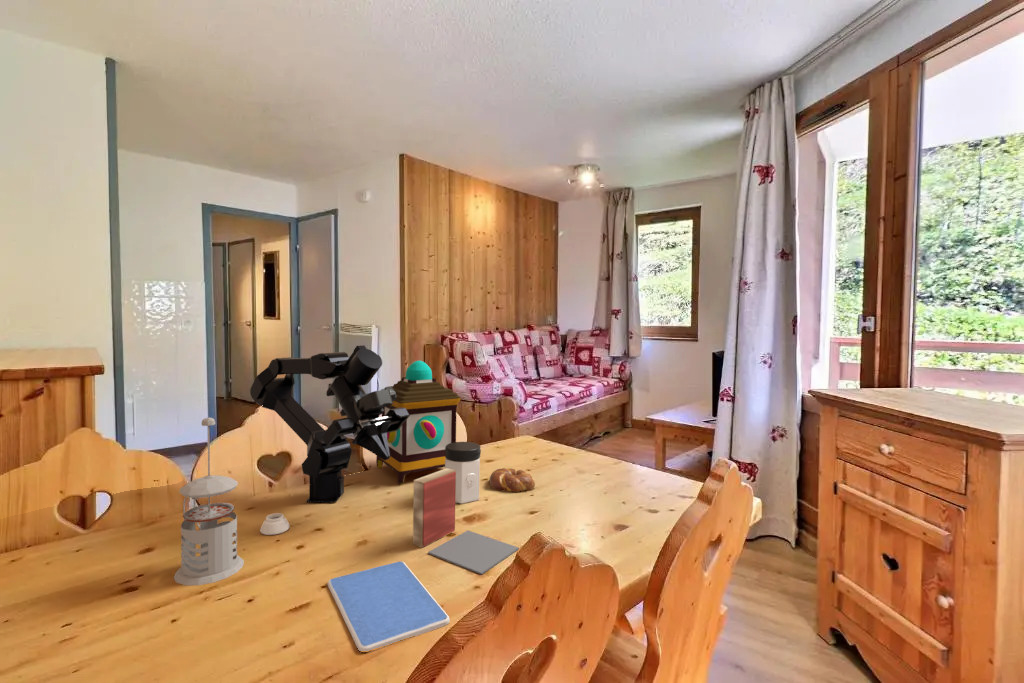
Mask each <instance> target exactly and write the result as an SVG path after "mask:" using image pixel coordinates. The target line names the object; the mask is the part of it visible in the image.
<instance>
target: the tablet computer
mask: <svg viewBox="0 0 1024 683" xmlns="http://www.w3.org/2000/svg"><path fill="white" fill-rule="evenodd" d="M327 587H328V589H329V591H330V594H331V595H332V598H333V599H334V602H335V603H336V605H337V607H338V610H339V612H340V614H341V616H342V619H343V620H344V622H345V625H346V627H347V629H348V631H349V633H350V636H351V638H352V640H353V642H354V644H355V647H356V648H358V649H357V650H359V651H369V650H372V649H375V648H379V647H381V646H382V647H383V646H386V645H389V644H392V643H394V642H397V641H400V640H403V639H405V638H409V637H412V636H415V637H417V636H420V635H423V634H426V633H429V632H432V631H434V630H437V629H440V628H442V627H445V626H447V625H448V624H449V623H450V620H451V619H450V616H449V615H448V614H447V613H446V611H445V610H444V609H443V608H442V606H441V605H440V604H439V603H438V602H437V600H436V599H435V598H434V596H432V595H431V593H430V592H429V591H428V589H427V588H426V586H424V584H423V583H422V582H421V581H420V580H419V578H418V577H417V575H415V574H414V572H413V571H412V569H410V567H409V566H408V565H407V564H406V562H404V561H396V562H392V563H389V564H384V565H380V566H376V567H372V568H368V569H365V570H360V571H356V572H352V573H348V574H345V575H340V576H336V577H333V578H332V577H331V578H330V579H329V580H328V581H327ZM412 638H413V637H412ZM409 639H410V638H409ZM403 641H404V640H403ZM400 642H401V641H400ZM392 645H393V644H392ZM389 646H390V645H389ZM386 647H387V646H386ZM383 648H384V647H383ZM359 651H358V652H359Z"/></svg>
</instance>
